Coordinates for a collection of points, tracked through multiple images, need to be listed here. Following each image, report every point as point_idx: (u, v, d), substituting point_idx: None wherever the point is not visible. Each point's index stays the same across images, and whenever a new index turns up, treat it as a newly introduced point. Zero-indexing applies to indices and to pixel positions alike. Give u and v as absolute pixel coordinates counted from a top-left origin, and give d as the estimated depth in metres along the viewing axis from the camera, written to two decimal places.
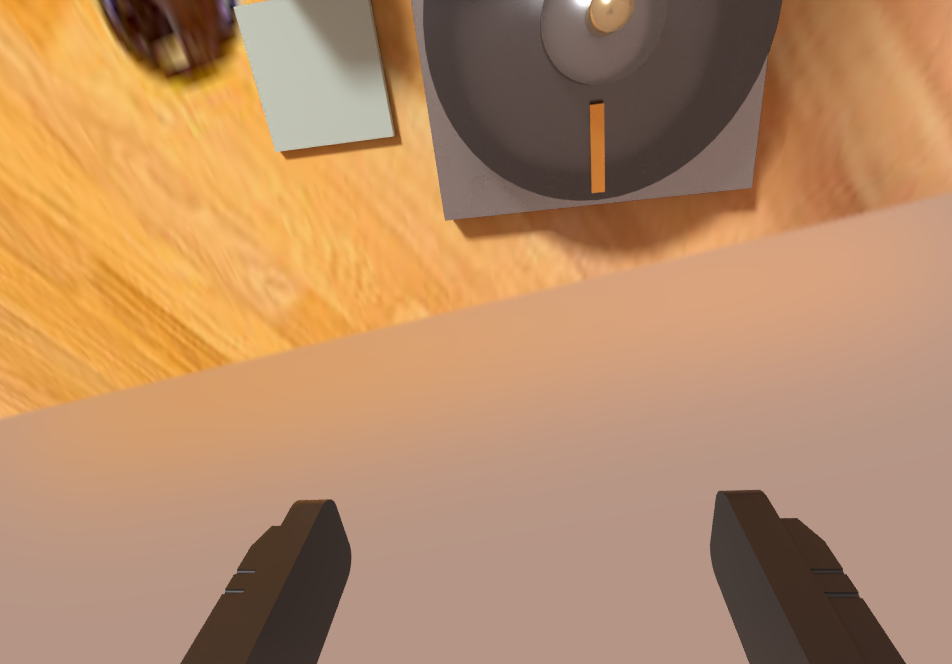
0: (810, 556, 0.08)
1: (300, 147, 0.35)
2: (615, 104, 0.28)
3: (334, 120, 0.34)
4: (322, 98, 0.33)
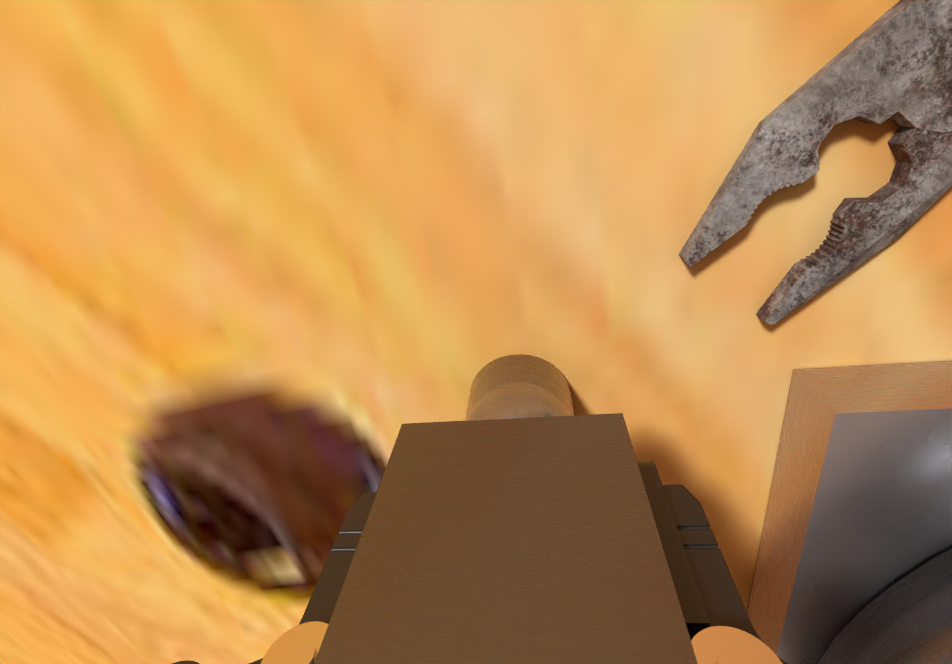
0: (685, 515, 0.09)
1: None
2: None
3: None
4: None
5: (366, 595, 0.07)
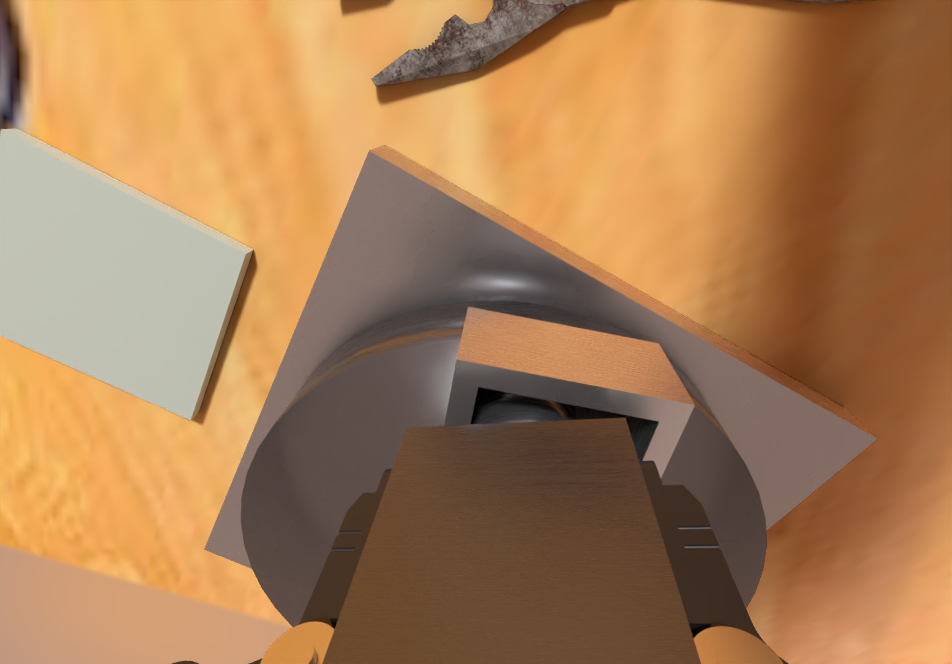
0: (686, 516, 0.09)
1: (33, 349, 0.21)
2: None
3: (108, 355, 0.21)
4: (102, 323, 0.20)
5: (373, 597, 0.07)
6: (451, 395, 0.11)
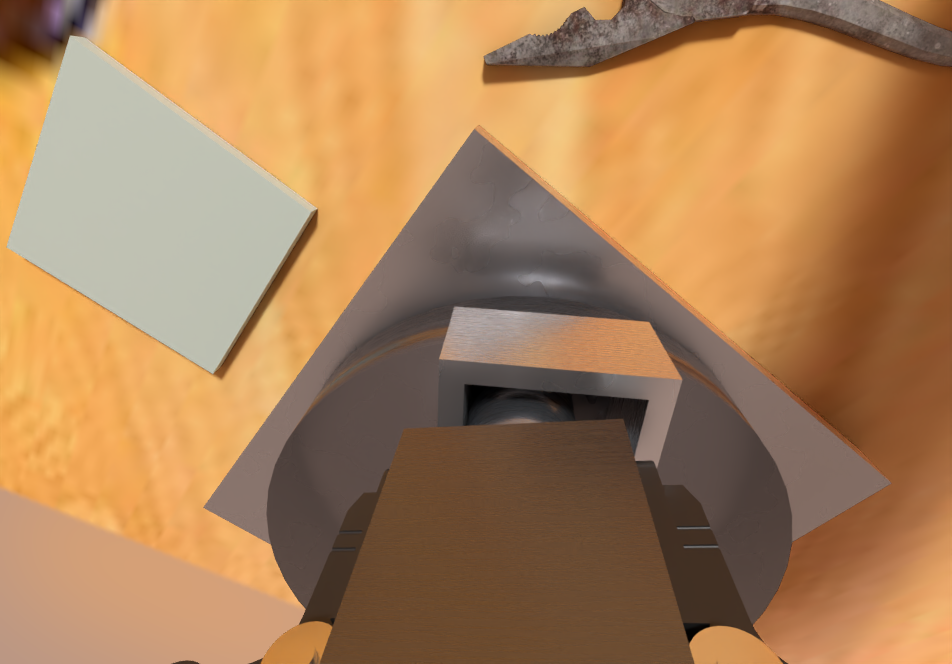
0: (685, 515, 0.09)
1: (55, 275, 0.19)
2: None
3: (137, 294, 0.19)
4: (138, 259, 0.19)
5: (368, 602, 0.07)
6: (439, 395, 0.11)
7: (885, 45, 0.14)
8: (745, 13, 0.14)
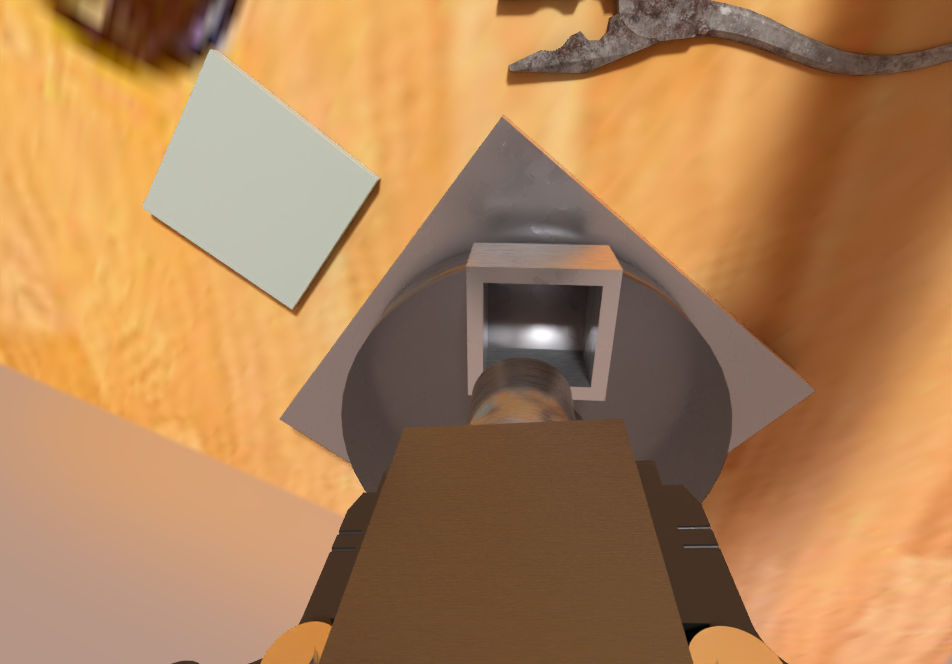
0: (685, 516, 0.09)
1: (177, 230, 0.25)
2: None
3: (239, 244, 0.25)
4: (242, 217, 0.25)
5: (368, 601, 0.07)
6: (467, 291, 0.17)
7: (793, 58, 0.20)
8: (693, 36, 0.20)
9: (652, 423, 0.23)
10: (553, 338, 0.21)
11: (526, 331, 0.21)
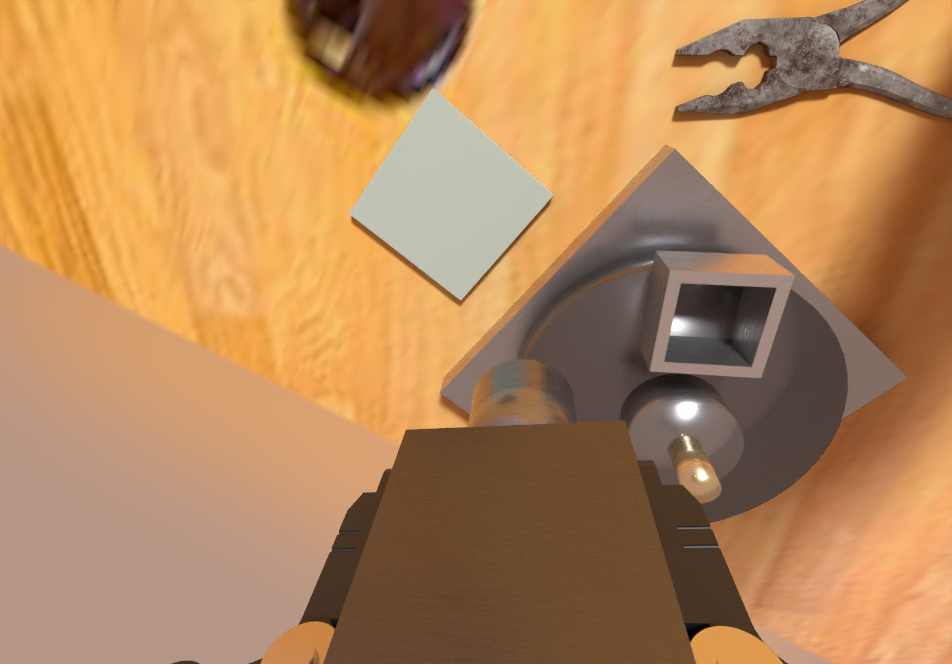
0: (685, 516, 0.09)
1: (375, 232, 0.31)
2: None
3: (426, 245, 0.31)
4: (433, 223, 0.30)
5: (371, 604, 0.07)
6: (667, 289, 0.22)
7: (915, 106, 0.25)
8: (835, 87, 0.25)
9: (778, 400, 0.28)
10: (707, 328, 0.26)
11: (685, 322, 0.26)
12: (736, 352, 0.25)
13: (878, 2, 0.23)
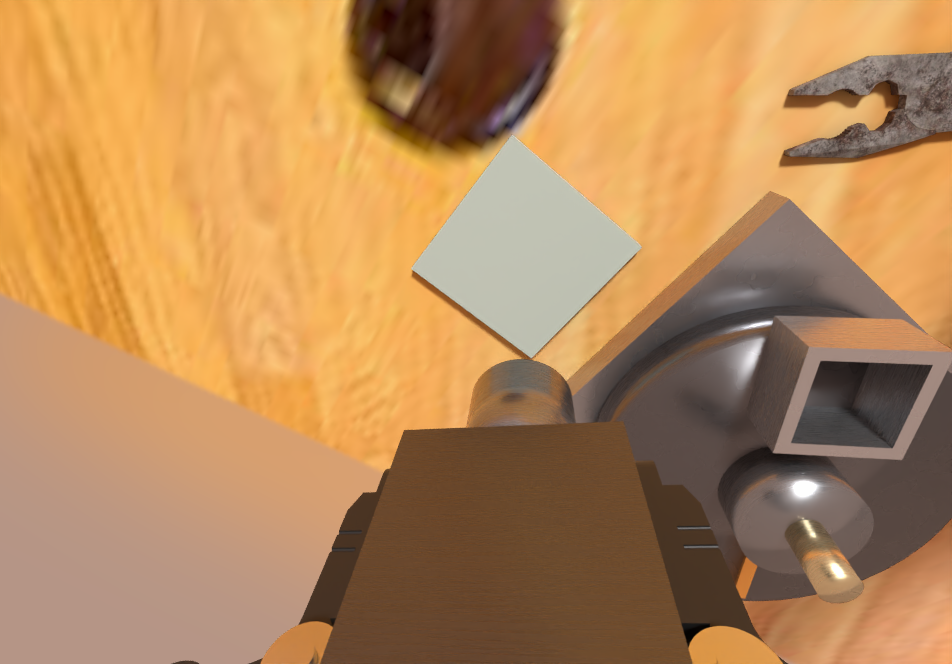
0: (685, 515, 0.09)
1: (439, 288, 0.28)
2: None
3: (495, 301, 0.28)
4: (505, 277, 0.27)
5: (368, 605, 0.07)
6: (803, 367, 0.20)
7: None
8: None
9: (900, 471, 0.25)
10: (826, 397, 0.23)
11: None
12: (866, 427, 0.22)
13: None
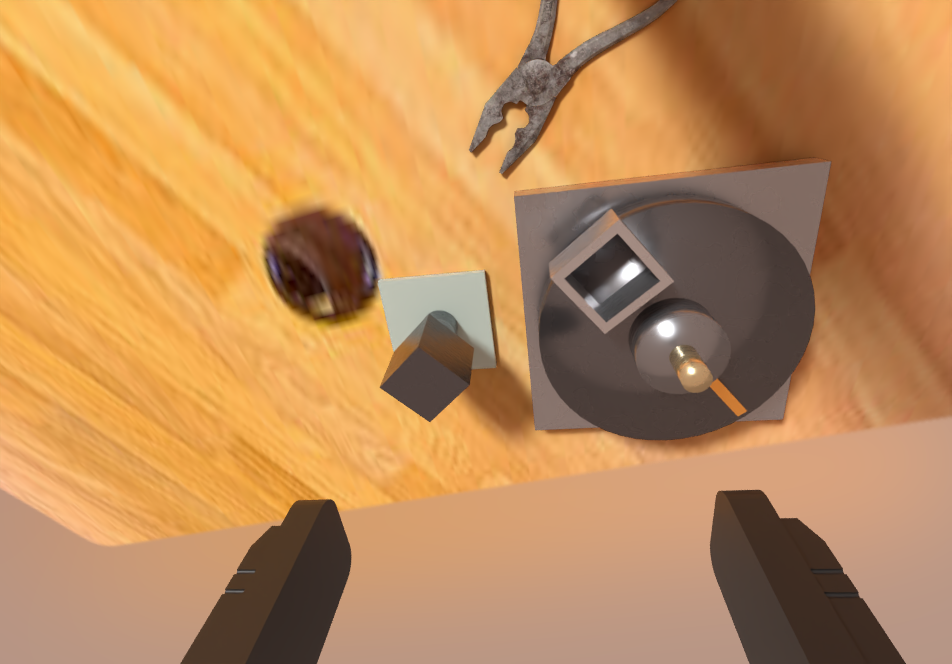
0: (810, 556, 0.08)
1: None
2: None
3: None
4: None
5: (386, 375, 0.35)
6: (560, 288, 0.31)
7: (629, 35, 0.31)
8: None
9: (728, 268, 0.32)
10: (628, 272, 0.33)
11: (611, 281, 0.33)
12: (652, 275, 0.31)
13: (542, 24, 0.31)
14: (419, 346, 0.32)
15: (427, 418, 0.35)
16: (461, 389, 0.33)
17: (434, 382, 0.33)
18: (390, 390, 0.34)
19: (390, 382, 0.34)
